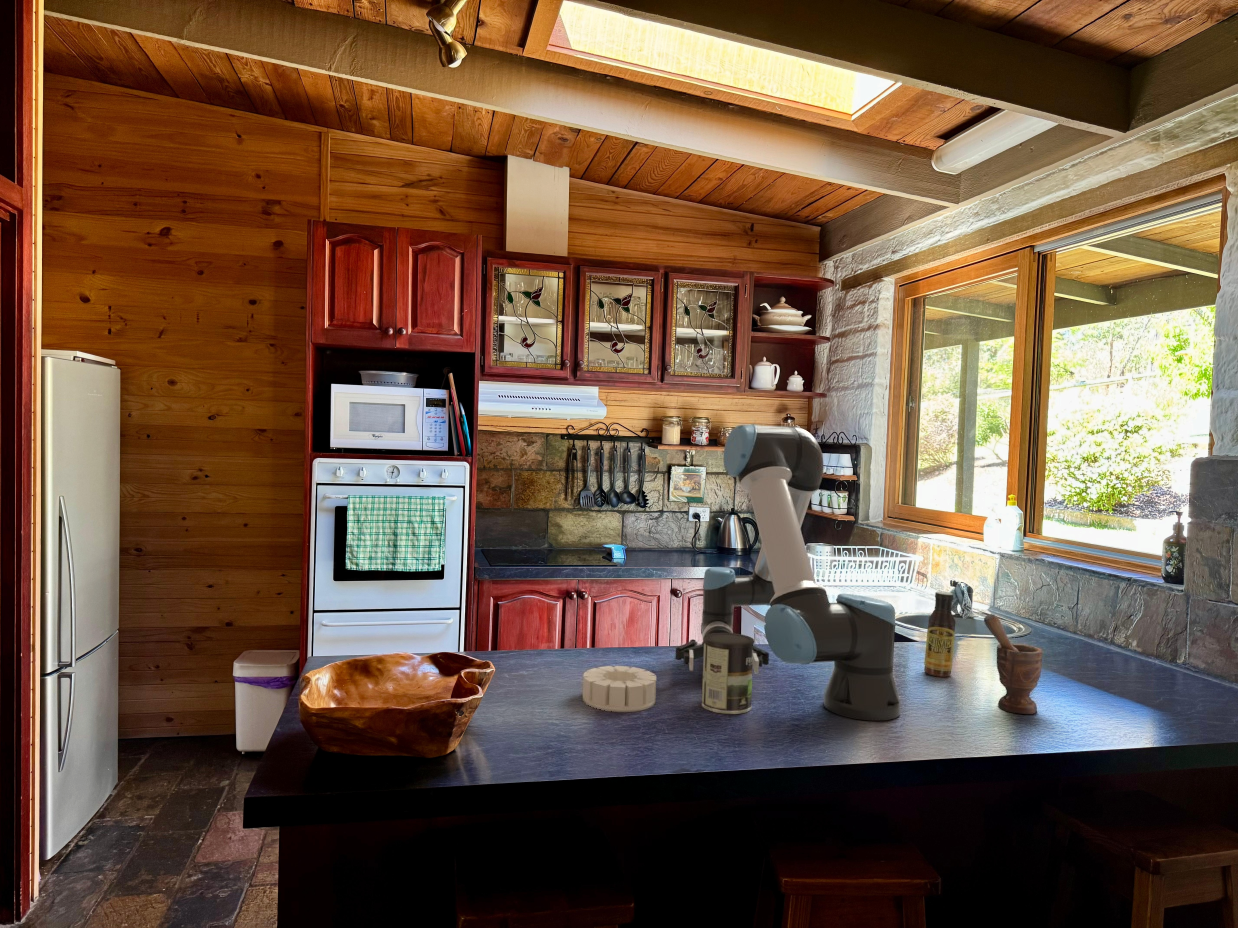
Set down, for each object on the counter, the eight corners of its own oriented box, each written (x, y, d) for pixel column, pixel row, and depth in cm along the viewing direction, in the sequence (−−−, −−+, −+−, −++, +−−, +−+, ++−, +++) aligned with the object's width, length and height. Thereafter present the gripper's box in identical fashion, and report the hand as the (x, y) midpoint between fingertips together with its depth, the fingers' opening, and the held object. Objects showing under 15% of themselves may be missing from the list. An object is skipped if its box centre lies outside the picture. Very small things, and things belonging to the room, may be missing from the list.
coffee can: (752, 700, 172) (755, 634, 172) (750, 716, 162) (753, 645, 162) (703, 696, 174) (706, 630, 174) (698, 711, 164) (701, 641, 164)
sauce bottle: (923, 675, 196) (927, 593, 195) (924, 669, 202) (927, 589, 201) (953, 679, 193) (957, 595, 193) (952, 672, 199) (956, 591, 199)
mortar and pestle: (1006, 719, 166) (1011, 621, 165) (973, 705, 174) (978, 612, 173) (1048, 713, 170) (1053, 618, 170) (1014, 701, 178) (1019, 609, 178)
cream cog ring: (656, 690, 176) (656, 667, 176) (654, 713, 161) (655, 688, 161) (586, 687, 177) (587, 664, 177) (578, 709, 162) (579, 684, 162)
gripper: (771, 659, 192) (783, 686, 170) (665, 654, 193) (663, 680, 172) (773, 627, 191) (785, 651, 170) (666, 622, 193) (665, 644, 172)
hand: (724, 665), depth 171 cm, fingers open, 13 cm apart
